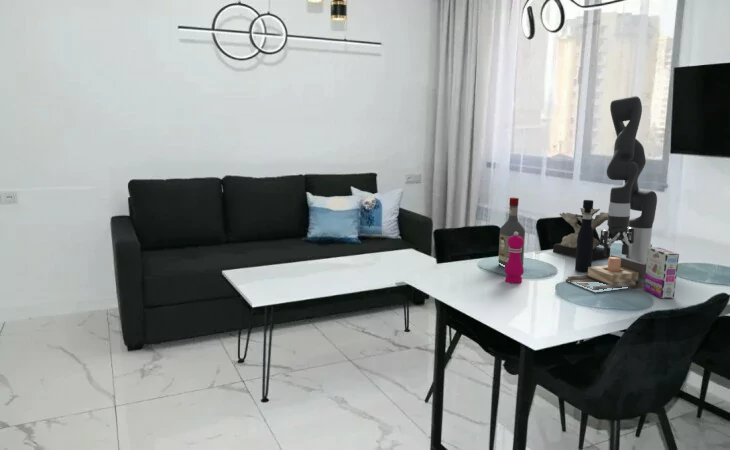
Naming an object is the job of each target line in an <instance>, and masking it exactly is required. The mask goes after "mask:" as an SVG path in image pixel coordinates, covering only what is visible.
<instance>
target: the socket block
mask: <svg viewBox="0 0 730 450" xmlns="http://www.w3.org/2000/svg"><path fill="white" fill-rule="evenodd" d="M607 269H608V264H606V265H597V266H592V267H588V273H587V274H588V277H587V278H590V279H592V280H595V281H598V282H601V283H603V284H606V285H609V284H618V283H626V282H635V284H637V283H638V275H639V272H635V271H632V270H629V269H626V268H623V267H620V272H610V271H607Z"/></svg>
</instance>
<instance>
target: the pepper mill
mask: <svg viewBox="0 0 730 450" xmlns="http://www.w3.org/2000/svg"><path fill="white" fill-rule="evenodd" d="M523 244H524V245H525V243H524V241H523V238H522V237H520V236H518V232H514V235H513V236H511V237H509V239H508V245H509V246H510V247H509V251H510V255H509V260H508V262H507V264H506V266H505V268H504V273H505V274H506V276H505V278H504V279H505V283H509V284H521V283H522V282H523V275H524V269H525V268H524V264H523V265H522V262H521V258H520V254H521V252H522V248H521V247H522V246H523Z"/></svg>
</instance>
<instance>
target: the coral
mask: <svg viewBox="0 0 730 450" xmlns="http://www.w3.org/2000/svg"><path fill="white" fill-rule="evenodd" d="M579 209H580V212H581V215H582V216H578V214H577V213H571V212H566V213H565V212H560V213H559V214H558V215H559V216H560V217H562V219H564V221H565V222H567V224H569V225H570V226H571V227H573V229H574V233H573V232H572V233H570V234H568V235H564V236H563V237H562V239H561V240H562V241H561V242H560V243H555V244H553V247H552V248H553V249H552V250H553V251H552V252H553V253H557V254H561V255H565V256H569V257H573V258H576V249H577V236H578V233H579V230H580V228H581V225H579V224H578V221H579V222H580V223H581V224H582V219H583V214H586V213H584V210H585V209H584V208H583V207H580V208H579ZM599 211H601V210H600V208H597V209H596V208H593V209H591V219H592V224H591V226H592V230H593V231H594V230H595V229H596V228H598V227H600V226H601V225H602V224H604V223H605V222H606V221H608V212H600V213H599V214H597V213H598V212H599ZM595 214H596V215H595ZM594 215H595V217H594V218H593V216H594ZM599 246H600V240H598V239H597V238H596V237H594V242H593V254H592V262H593V261H599V260H604V259H609V257H606V256H604V247H599Z"/></svg>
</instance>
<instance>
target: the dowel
mask: <svg viewBox="0 0 730 450" xmlns="http://www.w3.org/2000/svg"><path fill="white" fill-rule="evenodd" d="M607 259H608V263H607V265H608V269H607V271H610V272H620V265H621V258H617V257H611V256H610V257H609V258H607Z"/></svg>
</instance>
